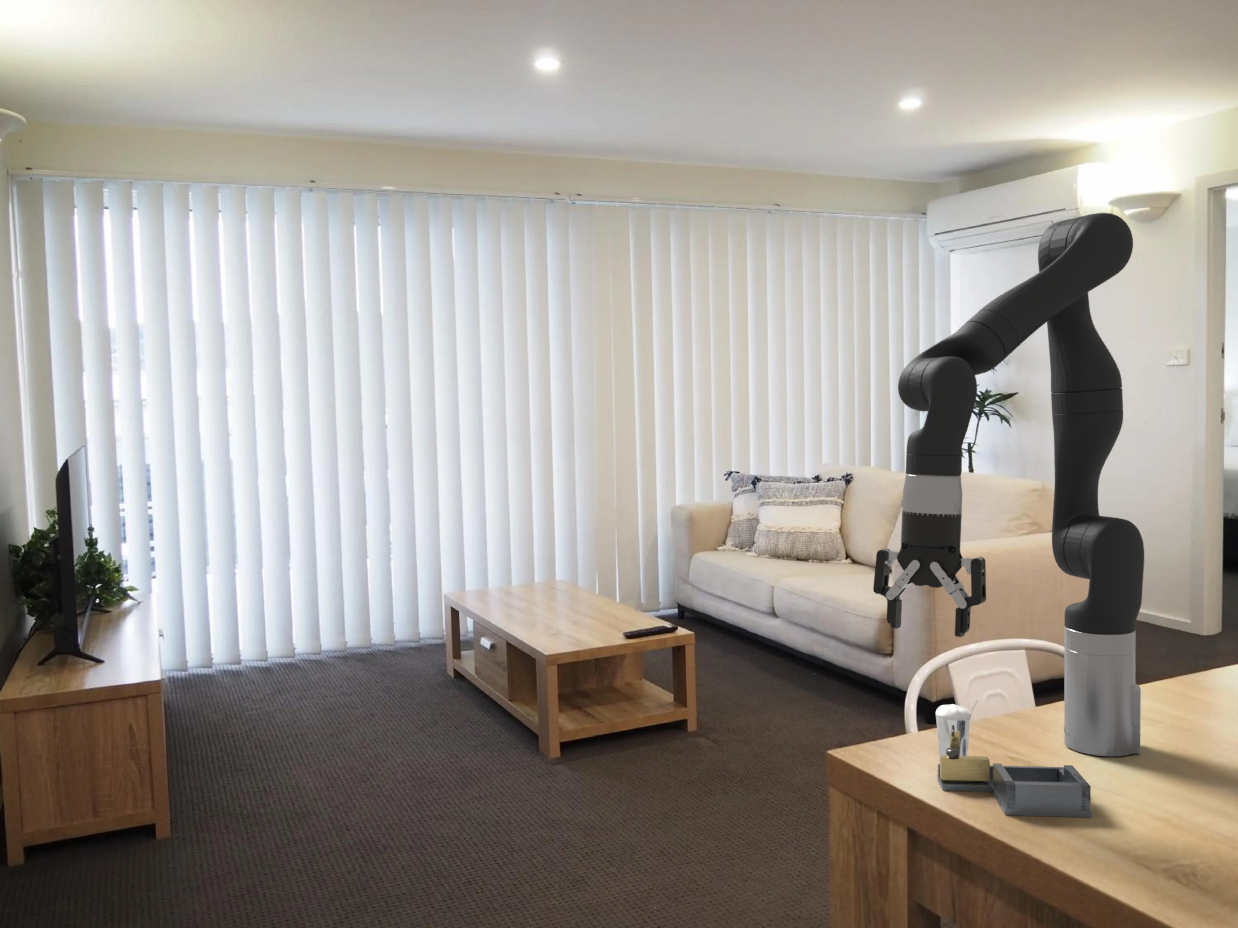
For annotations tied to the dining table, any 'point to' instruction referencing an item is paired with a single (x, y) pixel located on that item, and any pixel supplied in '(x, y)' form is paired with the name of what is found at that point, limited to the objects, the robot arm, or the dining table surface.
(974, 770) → the bar
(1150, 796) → the dining table surface
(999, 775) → the dock
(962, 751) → the milkshake
